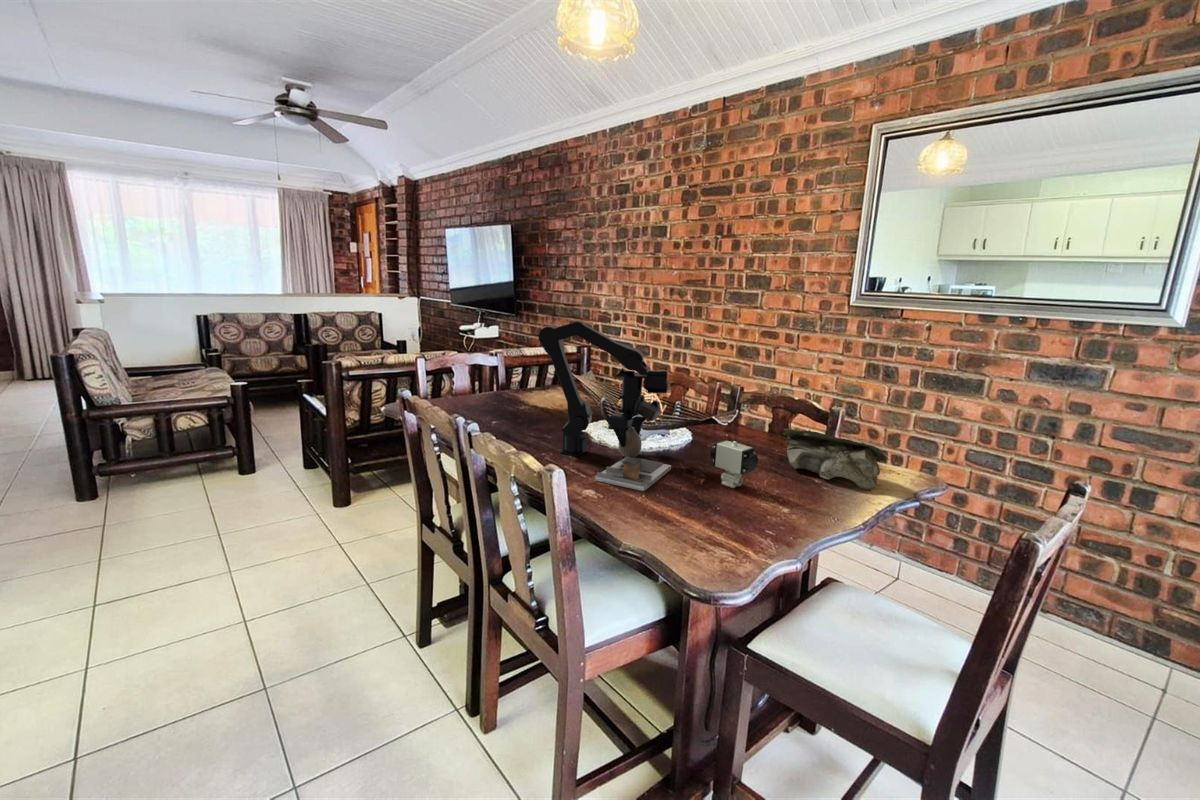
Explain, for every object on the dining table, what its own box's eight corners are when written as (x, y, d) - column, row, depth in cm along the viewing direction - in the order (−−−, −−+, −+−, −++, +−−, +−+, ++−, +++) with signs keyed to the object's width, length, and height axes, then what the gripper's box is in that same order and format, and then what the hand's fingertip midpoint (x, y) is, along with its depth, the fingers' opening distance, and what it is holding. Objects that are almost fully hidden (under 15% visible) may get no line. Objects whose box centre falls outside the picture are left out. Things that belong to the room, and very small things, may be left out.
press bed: (595, 480, 142) (595, 472, 141) (626, 460, 158) (626, 453, 158) (643, 491, 136) (644, 483, 135) (671, 469, 152) (671, 462, 151)
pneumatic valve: (745, 494, 136) (749, 448, 133) (707, 481, 144) (710, 437, 141) (757, 489, 139) (761, 444, 137) (719, 476, 148) (723, 434, 145)
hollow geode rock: (777, 478, 161) (762, 451, 151) (793, 444, 165) (780, 415, 156) (878, 504, 141) (868, 474, 132) (893, 464, 146) (884, 432, 137)
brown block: (622, 480, 139) (623, 461, 138) (628, 475, 142) (629, 457, 141) (633, 482, 138) (634, 463, 137) (639, 478, 141) (640, 459, 140)
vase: (641, 460, 159) (643, 431, 157) (618, 459, 159) (619, 430, 157) (640, 452, 166) (641, 425, 164) (617, 452, 166) (619, 424, 164)
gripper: (644, 401, 147) (641, 455, 150) (669, 390, 163) (666, 439, 166) (608, 396, 152) (606, 449, 155) (635, 385, 168) (633, 434, 171)
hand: (629, 442), depth 162 cm, fingers open, 9 cm apart
